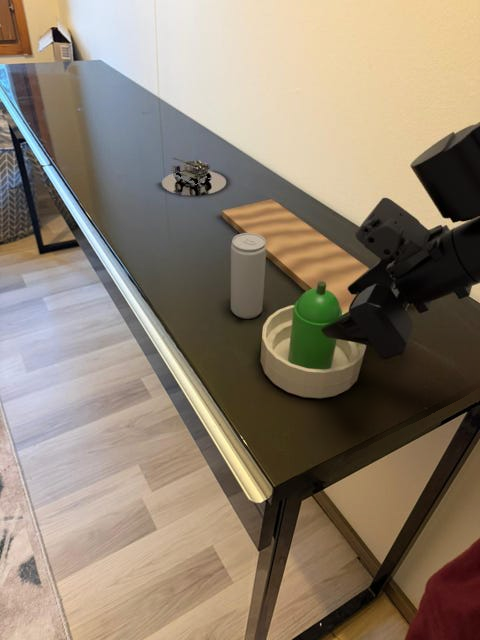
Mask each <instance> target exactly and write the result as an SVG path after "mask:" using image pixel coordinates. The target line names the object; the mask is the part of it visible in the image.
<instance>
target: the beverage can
mask: <svg viewBox="0 0 480 640" xmlns="http://www.w3.org/2000/svg"><path fill="white" fill-rule="evenodd" d="M266 258H267V257H266V241H265V239H264V238H263V237H262V236H260V235H258V234H254V233H242V234H240V233H239V234H236V235H234V237H232V240H231V245H230V310H231V312H232V314H234V315H235V316H236V317H238V318H240V319H246V320H250V319H254V318H256V317H258V316H259V315H260V314H261V313H262V312H263V306H264V290H265V276H266V262H267V261H266V260H267V259H266Z"/></svg>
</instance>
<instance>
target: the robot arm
mask: <svg viewBox="0 0 480 640" xmlns="http://www.w3.org/2000/svg"><path fill="white" fill-rule="evenodd" d="M409 167H410V168H411V170H412V172H413V173H414V175H415V176H416V178H417V179H418V181H419V182H420V184H421V185H422V188H423V189H424V190H425V192H426V194H427V195H428V197H429V198H430V200H431V201H432V203H433V205H434V206H435V208H436V209H437V211H438V212H439V214H440V216H441V217H442V218H443V219H450V221H451V222H452V223H453V224H455V223H458V222H460V223H461V222H462V223H461V224H459V225H457V226H455V227H453V228H451V229H450V228H449V226H448V225H447V224H445V225H442V224H439V225H437V226H435V227H433V228H430V229H429V228H427V227H426V226H424V224H422V223H421V222H420V221H419V219H418V218H417V217H415V216H414V215H413V214H411V213H410V212H408V211H407V210H406V209H404V208H403V207H402V206H401V205H399V204H398V203H397V202H395V201H393V200H392V199H391V198H389V197H382V198H381V199H380V201H378V203H377V204H376V206H374V208H373V209H372V210H371V211H370V212H369V214H368V215H367V217H366V218H365V219H364V220H363V222H362V223H361V225H360V226H359V227H358V228H357V230H356V231H355V238H356V240H357V241H358V242H359V243H361V244H362V245H363V247H364V248H365V249H367V250H368V251H369V252H371V253H372V255H375V256H376V257H377V258H379V260H378V261H377V262H375V263H374V264H373V265H371V267H370V268H369V269H368V270H367V271H366V272H365V273H364V274H362V275H361V276H360V277H359V278H358V279H357V280H355V281H354V282H353V283H352V284H351V285H349V286H348V291H349V292H350V293H351V294H352V295H355V294H356V296H355V297H354V299H353V301H352V303H351V304H350V306H349V311H348V312H346V313H345V314H343V315H342V316H340V317H338V318H337V319H335V320H334V321H332V322H330V323H329V324H327V325H326V326H324V327H323V328H322V329H321V331H322V333H323V334H324V335H325V337H328V338H333V339H339V340H345V341H350V342H356V343H360V344H364V345H367V346H366V347H371V348H373V349H374V350H375V352H376V353H377V355H378V356H379V358H380V359H382V360H390V359H393V358H396V357H399V356H402V355H404V353H405V351H406V349H407V346H408V343H409V341H410V339H411V335H412V333H413V330H414V327H415V324H416V323H415V322H414V320H413V318H412V317H411V316H410V314H409V313H408V311H407V310H408V308H409V306H408V305H413V306H414V308H415V310H416V311H417V312H418V314H423V313H425V312H428V311H430V308H431V305H432V303H433V301H436V300H439V299H442V298H444V297H447V296H449V295H452V294H455V295H456V297H457V298H458V300H461V299H464V298H467V297H470V295H471V292H472V288H473V286H476V285H478V284H480V121H479V122H477V123H475V124H471V125H468V126H466V127H464V128H462V129H460V130H459V131H456V132H454V131H452V132H450V133H449V134H446V136H444V137H442V138H441V139H440V140H438V141H437V142H435V143H433V144H432V145H431V146H429V147H428V148H427V149H425V150H424V151H423V152H422V153H420V154H419V155H418V156H417V157H416V158H415V159H414V160H413V161H411V163H410V165H409Z"/></svg>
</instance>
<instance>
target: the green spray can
mask: <svg viewBox="0 0 480 640" xmlns="http://www.w3.org/2000/svg"><path fill="white" fill-rule="evenodd" d="M293 305H294V310H293V319H292V328H291V336H290V345H289V354H288V362H290V363H291V364H294V365H298V366H301V367H304V368H308V369H321V370H325V369H330V368H331V366H332V361H333V356H334V352H335V347H336V342H337V339H333V338H328V337H325V335H324V334H323V333H322V331H321V329H322V328H323V327H324V326H326V325H327V324H329V323H330V322H332V321H334V320H335V319H337V318H338V317H340V316H342V309H341V307H340V305H339V302H338V299H337V298H336V296H335V295H334V294H333V293H332V292H330V291H329V290H326V283H325V282H323V281H320V282H318V284H317V288H313V289H310V290H308V291H304V292H303V293H302V295H300V297H299V298H298V300H296V302H295V303H294V304H293Z"/></svg>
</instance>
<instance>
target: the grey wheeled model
mask: <svg viewBox="0 0 480 640" xmlns="http://www.w3.org/2000/svg"><path fill="white" fill-rule="evenodd" d="M172 160H175V161H178V162H181V163H183V164H184V165H183V166H181V165H180V164H178V163H174V164H172V165H171V166H172V168H170V170H171V172H172V173H170V174H168V175H166V176H165V177H164V178H163V179H162V180H161V185H162V187H163V188H164V189H165V190H167V191H168V192H170V193H173V194H177V195H180V196H205V195H210V194H214V193H216V192H219V191H221V190H222V189H224V188H225V187H226V185H227V180H226V178H225V177H224V176H223V175H221V174H220V173H217V172H214V171H210V170H211V165H210V163H205V162H204V161H202V160H199V159H198V158H196V161H195V160H184V159H180V158H178V157H175V156H174V157H172ZM176 172H177V173H176ZM173 173H176V175H178V176H180V177H181V176H182V177H183V178H185V179H188V180H189V179H190V178H191V179H190V180H189V181H193V182H194V183H195V184H197V183H199V184H197V185H195V184H194V183H189V182H188V181H185V180H183V179H180V178H178V177H174V175H173ZM205 176H207V178H205ZM210 177H212V178H211V179H208V178H210ZM198 178H199V179H198ZM203 179H205V180H204V181H201V180H203ZM199 180H200V181H201V182H200V181H199ZM198 181H199V182H198Z"/></svg>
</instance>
